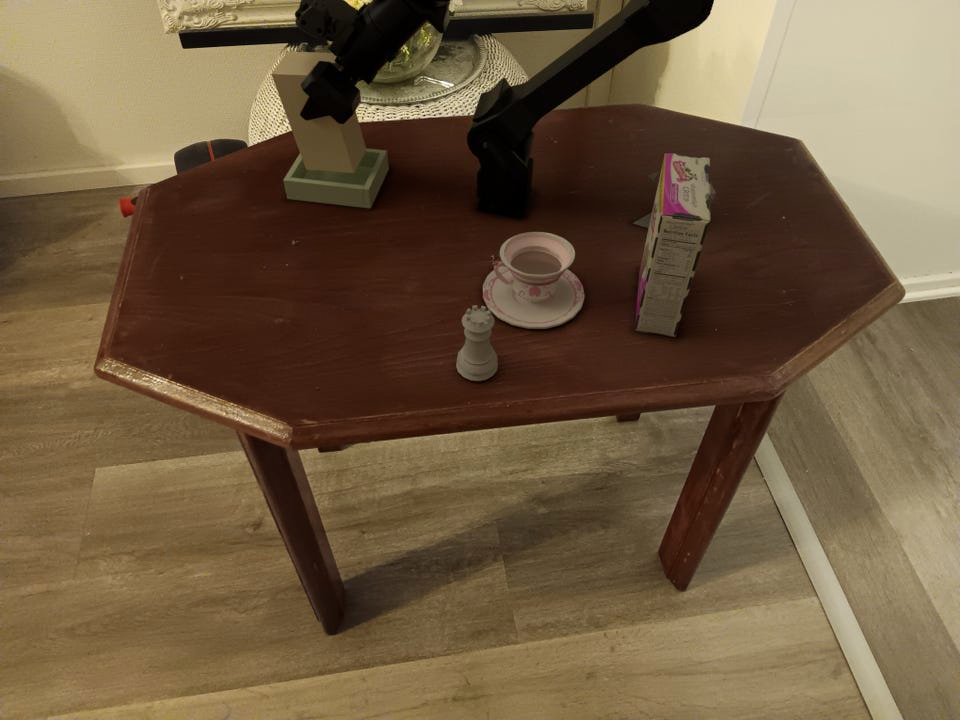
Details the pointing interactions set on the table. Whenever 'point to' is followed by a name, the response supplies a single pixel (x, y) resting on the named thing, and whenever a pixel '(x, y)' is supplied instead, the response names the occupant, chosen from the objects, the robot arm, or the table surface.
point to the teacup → (534, 282)
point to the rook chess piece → (477, 346)
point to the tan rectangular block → (317, 119)
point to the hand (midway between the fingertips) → (310, 105)
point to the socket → (339, 182)
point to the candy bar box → (673, 243)
